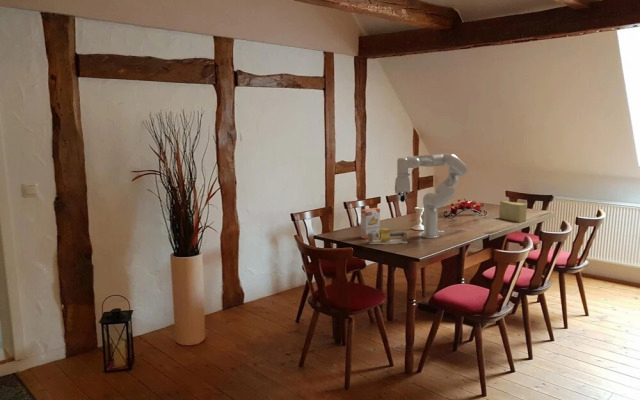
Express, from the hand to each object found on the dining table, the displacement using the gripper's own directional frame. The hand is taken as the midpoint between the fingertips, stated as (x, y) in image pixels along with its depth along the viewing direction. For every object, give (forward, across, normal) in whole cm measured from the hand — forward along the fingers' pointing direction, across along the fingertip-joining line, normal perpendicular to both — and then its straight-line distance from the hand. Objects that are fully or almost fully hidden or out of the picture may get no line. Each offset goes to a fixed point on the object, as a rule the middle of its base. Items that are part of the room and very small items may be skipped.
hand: (402, 201), depth 341 cm
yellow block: (+25, +15, +8) cm, 30 cm away
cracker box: (+27, +21, -10) cm, 36 cm away
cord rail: (+27, +13, +8) cm, 31 cm away
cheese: (+27, -106, -47) cm, 119 cm away
